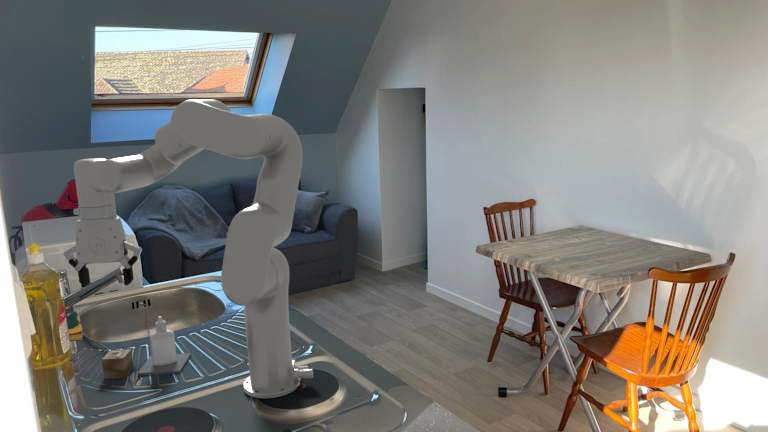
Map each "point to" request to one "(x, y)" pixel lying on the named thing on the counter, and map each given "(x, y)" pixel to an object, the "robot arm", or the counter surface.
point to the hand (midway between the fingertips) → (107, 284)
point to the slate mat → (164, 366)
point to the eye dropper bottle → (163, 344)
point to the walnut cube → (117, 364)
